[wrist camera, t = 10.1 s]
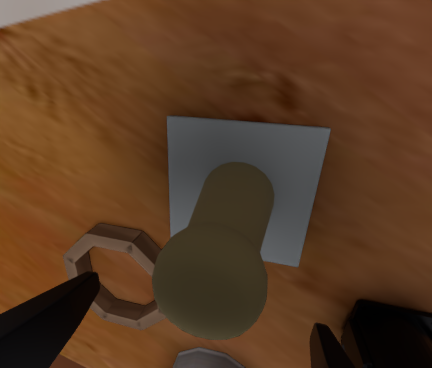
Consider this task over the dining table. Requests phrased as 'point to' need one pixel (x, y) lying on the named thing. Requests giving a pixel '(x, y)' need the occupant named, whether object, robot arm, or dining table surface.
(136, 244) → the walnut holder
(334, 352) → the robot arm
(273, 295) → the dining table surface
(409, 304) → the dining table surface
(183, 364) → the can
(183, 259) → the cork
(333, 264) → the dining table surface
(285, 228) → the slate mat
